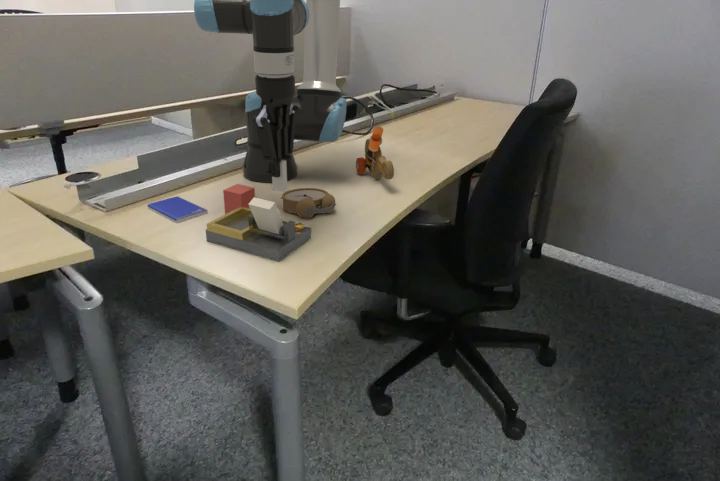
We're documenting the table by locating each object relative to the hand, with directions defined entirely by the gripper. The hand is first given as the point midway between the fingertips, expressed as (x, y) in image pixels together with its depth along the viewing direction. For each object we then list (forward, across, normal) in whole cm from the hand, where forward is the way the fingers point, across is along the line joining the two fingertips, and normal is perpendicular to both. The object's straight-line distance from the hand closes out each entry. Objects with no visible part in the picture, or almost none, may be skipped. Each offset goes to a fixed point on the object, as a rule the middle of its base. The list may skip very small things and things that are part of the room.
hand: (279, 189), depth 110 cm
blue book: (+10, -3, +27) cm, 29 cm away
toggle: (+5, -8, -3) cm, 10 cm away
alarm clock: (+10, +13, +1) cm, 16 cm away
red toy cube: (+10, +3, +13) cm, 17 cm away
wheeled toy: (+10, +41, -5) cm, 42 cm away
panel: (+9, -7, +1) cm, 11 cm away
